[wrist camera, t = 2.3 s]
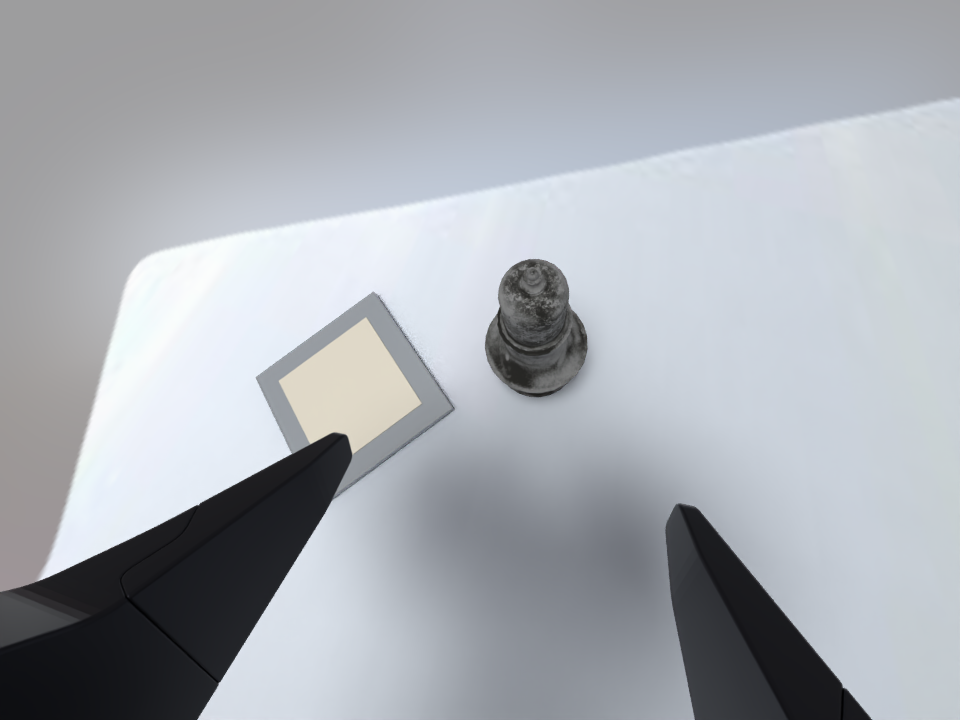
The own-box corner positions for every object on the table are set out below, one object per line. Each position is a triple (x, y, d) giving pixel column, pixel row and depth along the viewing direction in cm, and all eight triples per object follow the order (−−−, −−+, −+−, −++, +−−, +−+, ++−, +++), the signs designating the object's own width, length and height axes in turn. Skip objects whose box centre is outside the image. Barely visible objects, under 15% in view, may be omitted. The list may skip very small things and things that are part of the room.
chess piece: (573, 312, 24) (606, 184, 12) (586, 397, 22) (637, 340, 11) (489, 323, 24) (445, 212, 13) (496, 405, 23) (453, 361, 11)
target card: (454, 409, 23) (452, 408, 23) (323, 506, 23) (316, 508, 22) (376, 295, 27) (372, 290, 26) (261, 379, 26) (254, 377, 26)
